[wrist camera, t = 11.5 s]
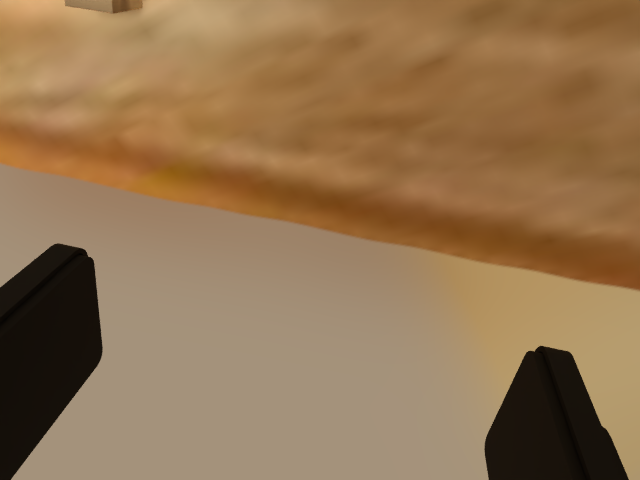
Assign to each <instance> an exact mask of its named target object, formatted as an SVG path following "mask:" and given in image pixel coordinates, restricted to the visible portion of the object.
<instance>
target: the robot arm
mask: <svg viewBox="0 0 640 480" xmlns="http://www.w3.org/2000/svg"><path fill="white" fill-rule="evenodd" d="M101 356H102V339H101V328H100V319H99V308H98V299H97V288H96V278H95V268H94V261H93V259H92V258H91V257H88V255H87V252H86V251H85V250H84V249H82V248H77V247H72V246H68V245H63V244H54V245H53V246H51V247H50V248H49V249H47V250H46V251H45V252H44V253H42V254H41V255H40V256H39V257H38V258H36V259H35V260H34V261H32V262H31V263H30V264H29V265H28V266H26V267H25V268H24V269H23V270H21V271H20V272H19V273H18V274H16V275H15V276H14V277H13V278H12V279H10V280H9V281H8V282H7V283H5V284H4V285H3V286H2V287H0V480H11V479H12V477H13V476H14V474H15V473H16V472H17V471H18V469H19V468H20V467H21V465H22V464H23V463H24V461H25V460H26V459H27V457H28V456H29V455H30V453H31V452H32V451H33V449H34V448H35V447H36V446H37V444H38V443H39V442H40V440H41V439H42V438H43V436H44V435H45V434H46V433H47V431H48V430H49V428H50V427H51V426H52V425H53V423H54V422H55V420H56V419H57V418H58V416H59V415H60V414H61V413H62V411H63V410H64V409H65V408H66V406H67V405H68V404H69V402H70V401H71V400H72V398H73V397H74V396H75V394H76V393H77V392H78V390H79V389H80V388H81V387H82V385H83V384H84V382H85V381H86V380H87V379H88V377H89V376H90V375H91V373H92V372H93V371H94V369H95V368H96V367H97V365H98V363H99V362H100V359H101ZM485 458H486V464H487V471H488V477H489V480H629V479H628V477H627V474H626V472H625V469H624V467H623V465H622V462H621V460H620V458H619V455H618V453H617V450H616V448H615V446H614V443H613V441H612V439H611V437H610V435H609V433H608V431H607V430H606V429H605V428H603V427H602V426H601V423H600V421H599V419H598V416H597V414H596V411H595V409H594V406H593V404H592V402H591V399H590V397H589V394H588V392H587V389H586V387H585V385H584V382H583V380H582V377H581V375H580V373H579V370H578V368H577V365H576V363H575V360H574V358H573V356H572V354H571V353H570V352H568V351H563V350H558V349H554V348H549V347H544V346H539V347H538V348H537V349H536V350H535V352H534V351H528V352H527V353H526V355H525V356H524V359H523V360H522V363H521V365H520V367H519V369H518V371H517V373H516V375H515V377H514V379H513V382H512V384H511V386H510V388H509V390H508V392H507V394H506V396H505V398H504V401H503V403H502V405H501V407H500V409H499V411H498V413H497V415H496V417H495V420H494V422H493V424H492V426H491V428H490V430H489V432H488V434H487V437H486V441H485Z"/></svg>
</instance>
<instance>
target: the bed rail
mask: <svg viewBox="0 0 640 480" xmlns="http://www.w3.org/2000/svg"><path fill="white" fill-rule="evenodd" d="M65 6H69V7H75V8H82V9H88V10H94V11H101V12H107V13H118V12H123V11H128V10H134V9H139V8H142V0H65Z"/></svg>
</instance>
